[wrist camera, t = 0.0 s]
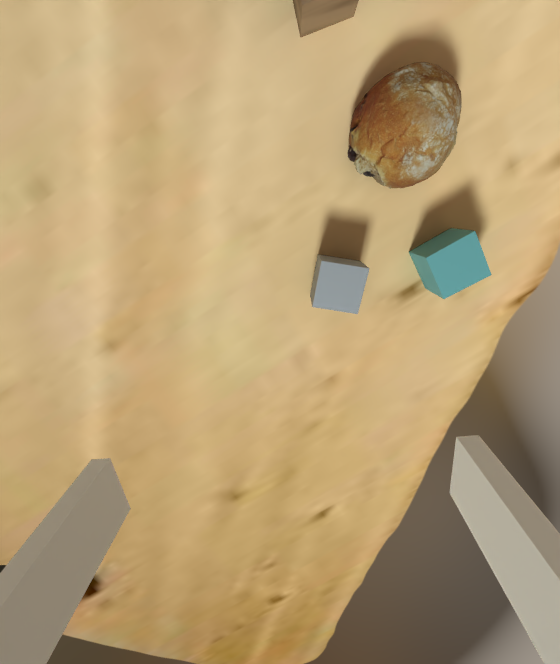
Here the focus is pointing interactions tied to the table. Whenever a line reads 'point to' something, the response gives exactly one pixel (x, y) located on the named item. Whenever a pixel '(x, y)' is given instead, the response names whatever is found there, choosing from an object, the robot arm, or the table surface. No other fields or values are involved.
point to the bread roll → (406, 125)
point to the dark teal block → (450, 262)
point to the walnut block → (322, 13)
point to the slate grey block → (338, 284)
